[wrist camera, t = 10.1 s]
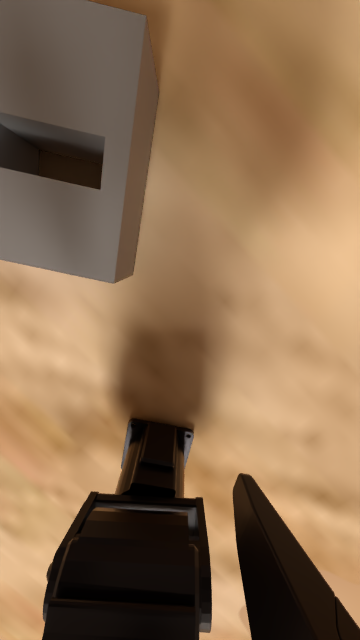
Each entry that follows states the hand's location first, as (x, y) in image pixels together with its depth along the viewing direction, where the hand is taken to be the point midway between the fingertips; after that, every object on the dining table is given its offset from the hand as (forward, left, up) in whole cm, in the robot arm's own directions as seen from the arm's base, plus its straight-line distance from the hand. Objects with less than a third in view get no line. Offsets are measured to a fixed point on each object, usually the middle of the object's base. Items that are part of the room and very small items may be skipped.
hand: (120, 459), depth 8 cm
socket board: (+11, +12, -12) cm, 20 cm away
